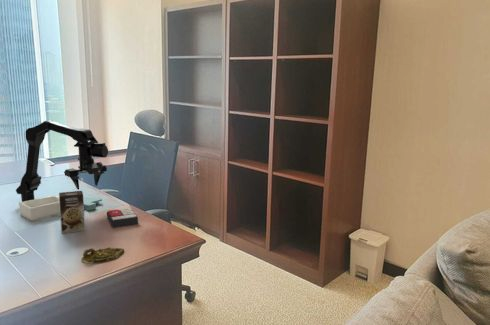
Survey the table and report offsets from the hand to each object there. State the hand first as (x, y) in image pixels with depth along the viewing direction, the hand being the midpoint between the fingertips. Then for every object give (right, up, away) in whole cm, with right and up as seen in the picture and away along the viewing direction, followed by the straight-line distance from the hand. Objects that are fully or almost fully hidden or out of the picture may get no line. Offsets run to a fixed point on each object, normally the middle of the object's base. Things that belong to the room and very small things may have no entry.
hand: (87, 187), depth 183 cm
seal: (+25, -22, -46) cm, 57 cm away
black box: (+21, -15, -11) cm, 28 cm away
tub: (-18, -12, -6) cm, 22 cm away
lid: (-4, -10, +6) cm, 12 cm away
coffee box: (+4, -16, -23) cm, 29 cm away
